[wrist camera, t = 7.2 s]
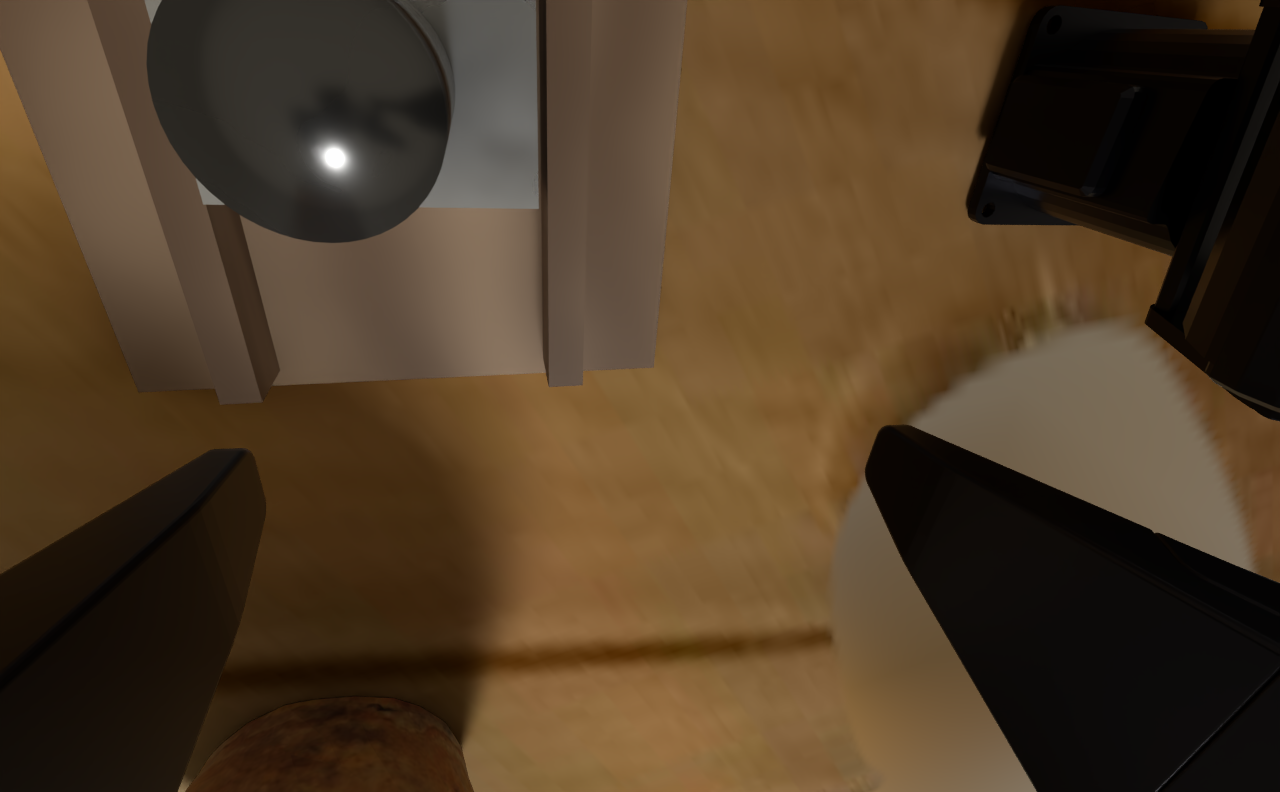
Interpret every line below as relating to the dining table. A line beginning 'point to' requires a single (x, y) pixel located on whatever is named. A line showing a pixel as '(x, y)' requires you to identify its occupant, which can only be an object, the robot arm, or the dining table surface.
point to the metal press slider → (348, 107)
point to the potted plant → (339, 751)
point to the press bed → (380, 265)
